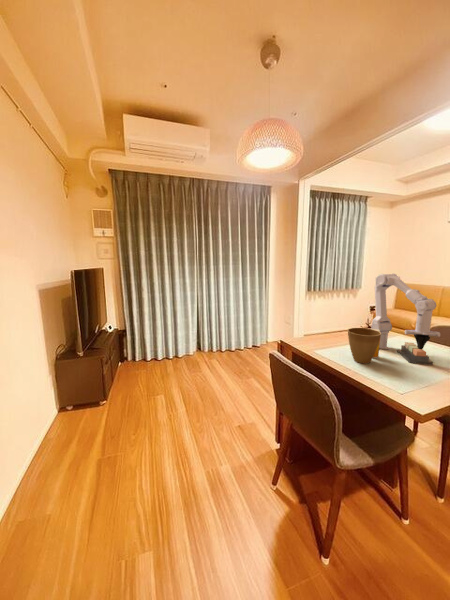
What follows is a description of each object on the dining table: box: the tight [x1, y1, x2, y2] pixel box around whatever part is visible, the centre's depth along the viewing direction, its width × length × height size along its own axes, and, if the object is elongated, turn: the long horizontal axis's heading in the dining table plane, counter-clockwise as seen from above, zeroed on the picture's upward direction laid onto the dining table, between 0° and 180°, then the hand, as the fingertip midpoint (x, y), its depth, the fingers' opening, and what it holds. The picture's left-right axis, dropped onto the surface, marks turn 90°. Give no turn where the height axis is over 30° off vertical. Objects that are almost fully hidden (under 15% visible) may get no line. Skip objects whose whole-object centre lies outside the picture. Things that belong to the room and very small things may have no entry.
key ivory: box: [404, 342, 417, 349], centre depth 135 cm, size 4×4×3 cm
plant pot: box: [347, 327, 381, 365], centre depth 126 cm, size 15×15×16 cm
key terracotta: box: [413, 348, 427, 357], centre depth 125 cm, size 4×4×3 cm
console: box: [396, 344, 434, 366], centre depth 131 cm, size 10×16×4 cm, turn 164°
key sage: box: [408, 345, 418, 352], centre depth 130 cm, size 4×4×3 cm
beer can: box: [371, 328, 381, 359], centre depth 132 cm, size 6×6×15 cm
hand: (420, 348), depth 125 cm, fingers closed
